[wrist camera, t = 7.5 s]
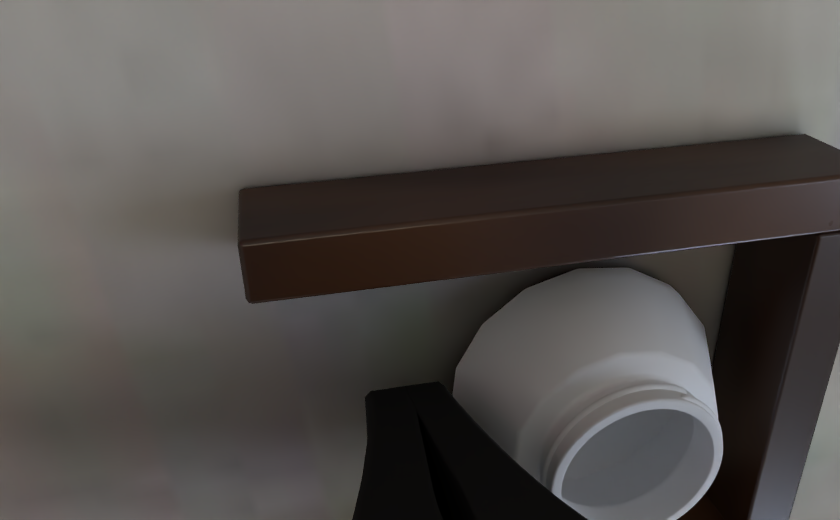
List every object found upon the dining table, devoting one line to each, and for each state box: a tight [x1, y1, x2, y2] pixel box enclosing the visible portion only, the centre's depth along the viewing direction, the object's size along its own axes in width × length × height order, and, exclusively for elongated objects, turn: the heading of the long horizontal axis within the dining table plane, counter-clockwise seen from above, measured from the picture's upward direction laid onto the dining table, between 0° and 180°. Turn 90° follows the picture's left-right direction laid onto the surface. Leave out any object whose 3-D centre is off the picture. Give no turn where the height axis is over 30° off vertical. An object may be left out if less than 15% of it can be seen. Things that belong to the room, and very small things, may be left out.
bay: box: [238, 134, 840, 520], centre depth 14 cm, size 10×9×2 cm
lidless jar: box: [452, 268, 723, 520], centre depth 13 cm, size 5×3×5 cm
